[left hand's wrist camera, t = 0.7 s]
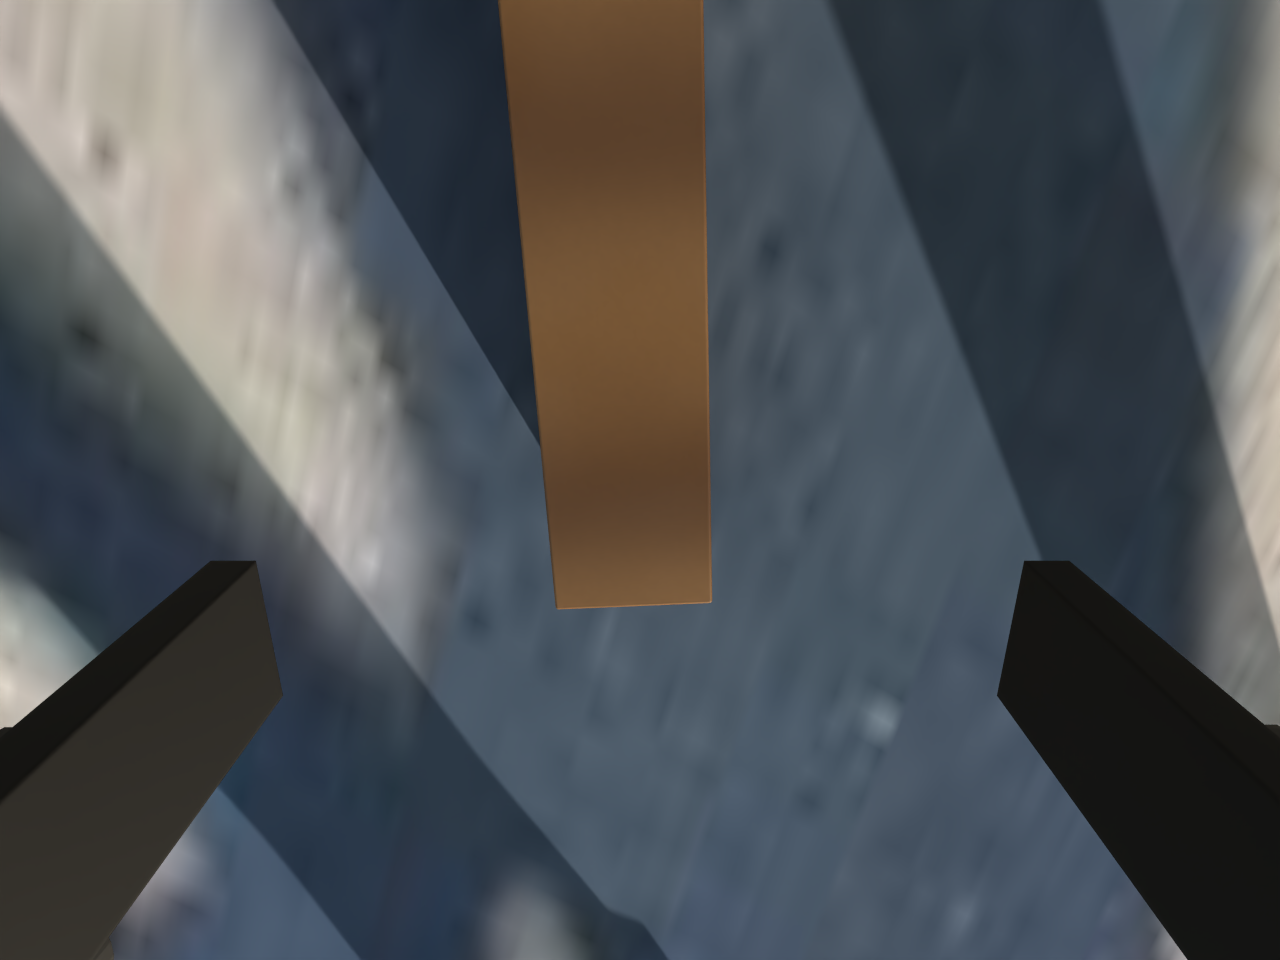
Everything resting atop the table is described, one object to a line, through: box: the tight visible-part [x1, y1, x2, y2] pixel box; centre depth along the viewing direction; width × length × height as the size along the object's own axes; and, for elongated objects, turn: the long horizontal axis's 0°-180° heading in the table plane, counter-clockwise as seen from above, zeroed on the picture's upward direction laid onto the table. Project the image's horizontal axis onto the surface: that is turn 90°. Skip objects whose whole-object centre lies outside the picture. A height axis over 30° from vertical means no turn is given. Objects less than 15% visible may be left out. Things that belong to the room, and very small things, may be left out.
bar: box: [498, 0, 712, 609], centre depth 22 cm, size 27×5×8 cm, turn 3°
